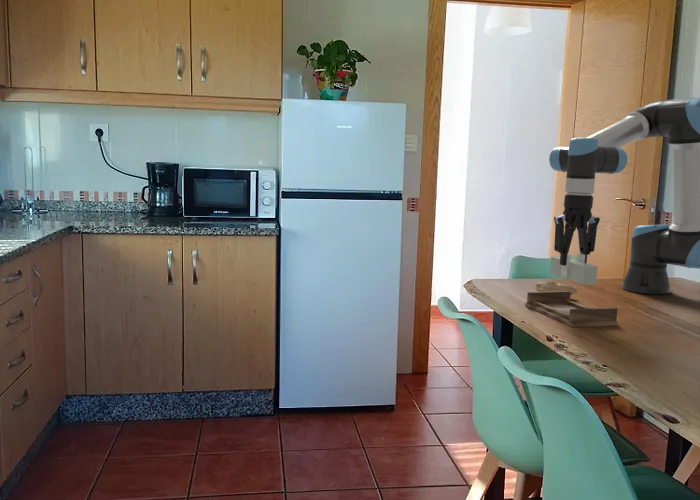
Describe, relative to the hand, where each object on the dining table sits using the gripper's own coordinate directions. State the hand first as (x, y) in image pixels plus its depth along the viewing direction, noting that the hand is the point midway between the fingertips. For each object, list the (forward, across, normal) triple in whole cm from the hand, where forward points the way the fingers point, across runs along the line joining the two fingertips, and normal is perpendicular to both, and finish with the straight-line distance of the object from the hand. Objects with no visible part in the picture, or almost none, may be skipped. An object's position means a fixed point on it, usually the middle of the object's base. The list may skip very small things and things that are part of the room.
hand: (572, 276), depth 175 cm
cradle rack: (+11, 0, 0) cm, 11 cm away
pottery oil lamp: (+12, -9, -21) cm, 26 cm away
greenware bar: (+1, 0, 0) cm, 1 cm away
